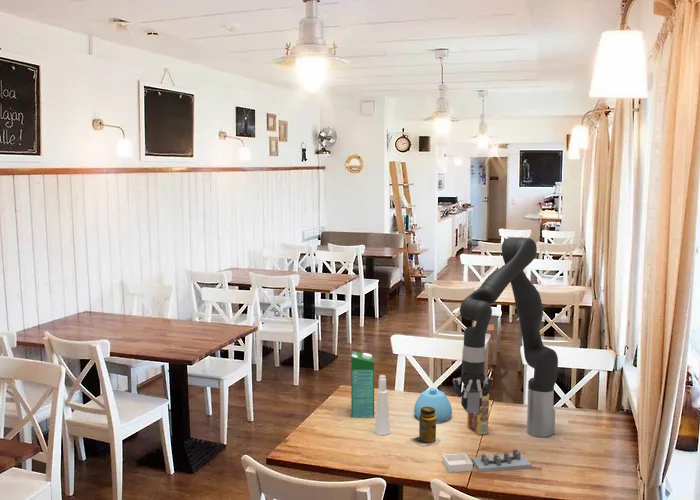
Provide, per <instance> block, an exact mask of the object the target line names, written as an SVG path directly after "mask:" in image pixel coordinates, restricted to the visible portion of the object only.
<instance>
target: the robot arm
mask: <svg viewBox="0 0 700 500" xmlns="http://www.w3.org/2000/svg"><path fill="white" fill-rule="evenodd" d="M537 248H538V247H537V243H536V242H535V240H534V239H532V238H531V237H507V238H505V239H504V240H503V242H502V244H501V255H502V258H503V259H502V260H503V263H504V264H503V266H501V267H499V268H497V269H496V270H494V271H493V272H492V273H491V274H489V275H488V276H487V277H486V278H485V280H484V281H483V283H482V284H481V285H480V286H479V288H478V289H475V290H473V292H472V293H470V294H469V295H468V296H466V297H465V298H464V299H463V300H462V302H461V304H460V306H459V313H460V316H461V318H463V319H465V320H467V321H468V320H469V321H473V322H475V325H474V326H468V327H466V328H465V329H464V333H463V345H462V346H463V347H462V357H461V374H460V375H459V377H457V378H455V377H453V378H452V379H451V380H452V384H453V387H454V389H455V390H454V391H455V393H456V395H457V396H458V397H461V403H460V404H461V406H462V407H463V410H464V409H467V395H468V392H469V390H470V389H471V388H475V389H477V390H478V392H480V401H479V408H480V407H481V405H482V397H483V396H487V395H488V394H489V392H490V390H491V387H492V385H493V383H494V380H493V379H492V378H491V377H489V376H488V377H487V376H486V375H485V365H486V333H487V330H488V328H489V324H490V321H491V319H492V315H493V309H492V306H491V304H494V303H496V301H497V300H498V299H499V298H500V296H501V295H502V293H503V292H504V291H505V289H506V288H507V287H508V285H509V284H510V286H511V289H512V294H513V297H514V304H515V310H516V314H517V317H518V321H519V326H520V330H521V335H522V344H523V345H522V346H523V355H524V360H525V362H526V363H527V365H528V366H529V367H531V368H532V369H534V370H535V373H534V377H531V378H530V379H528V383H527V386H528V387H527V411H526V412H527V414H526V415H527V418H526V433H527V434H529V435H531V436H533V437H537V438H546V437H547V438H548V437H551V436H554V435H555V431H556V430H555V427H556V410H555V408H554V399H555V398H554V397H555V395H554V394H555V393H554V391H555V384H556V383H557V379H558V370H559V369H558V368H559V357H558V354H557V352H556V351H555V349H552V348H550V347H549V346H547V345H546V346H545V345H544V343H543V340H542V336H541V332H540V331H541V330H540V328H541V324H542V321H543V316H544V308H543V303H542V297H541V295H540V292H539V291H538V290H537V288H536V287H535V285H534V284H533V283H532V281H531V280H530V279H529V278H528V277H527V275H526V273H525V271H524V269H526V268H527V267H528V266H529V265H530V264H531V263H532V262H533V261H534V259H535V258H536V255H537V252H538V249H537ZM461 383H462V384H463V385H462V389H461V387H460V385H461ZM483 383H484V385H483V388H482V384H483Z"/></svg>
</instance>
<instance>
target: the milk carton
mask: <svg viewBox="0 0 700 500" xmlns="http://www.w3.org/2000/svg"><path fill="white" fill-rule="evenodd" d="M350 355H351V357H350V363H351V364H350V367H351V368H350V369H351V371H350V375H351V381H350V384H351V385H350V386H351V389H350V390H351V391H350V393H351V397H350V398H351V402H350V403H351V418H375V356H374V355H372V354H371V353H367V352H359V351H355V350H351V354H350Z"/></svg>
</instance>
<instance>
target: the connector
mask: <svg viewBox="0 0 700 500" xmlns="http://www.w3.org/2000/svg"><path fill="white" fill-rule="evenodd" d="M479 401H480V392H478V390H477V389H475V388H471V389H470V390H469V392H468V395H467V409H464V408H463V410H464V411H465V412H466V413H467V414H468V413H479Z"/></svg>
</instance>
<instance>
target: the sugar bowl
mask: <svg viewBox="0 0 700 500" xmlns="http://www.w3.org/2000/svg"><path fill="white" fill-rule="evenodd" d="M415 401H416V402H415V404H414V409H413V413H414V416H415V417H417V419H419V417H420V415H421V414H420V413H421V408H423V407H432V408H434V409H435V416H436V424H437V423H444V422H446V421H448V419H450V417H451V416H453V415H452V414H453V408H452V404H451V402H450V400H449V398H448V396H447V395H446V394H445V392H443V391H442V390H438V389H437V388H435V387H431V388H429V389H427V390H424V391H422V392H421V394H420V395H419V396H418V397H417V399H416V400H415Z"/></svg>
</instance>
